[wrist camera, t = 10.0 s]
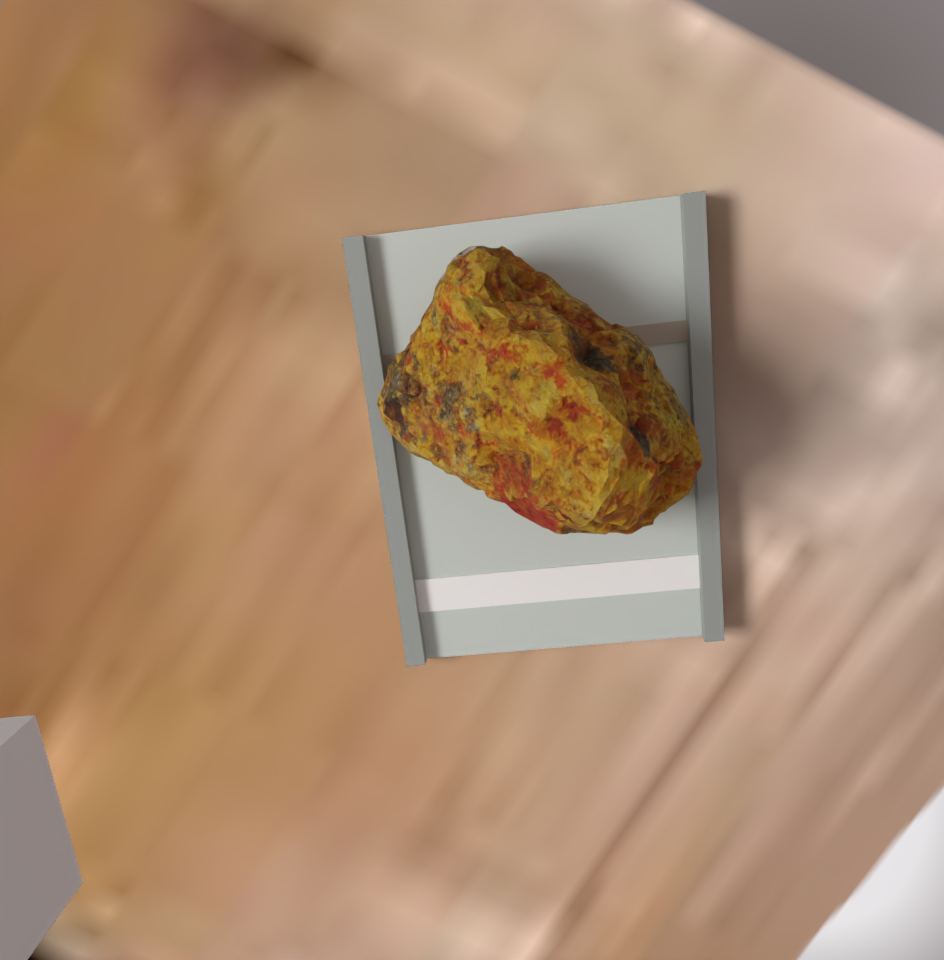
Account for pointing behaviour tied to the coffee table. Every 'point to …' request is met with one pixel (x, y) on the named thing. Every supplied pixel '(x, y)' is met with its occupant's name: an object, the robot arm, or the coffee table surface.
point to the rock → (539, 401)
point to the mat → (494, 525)
